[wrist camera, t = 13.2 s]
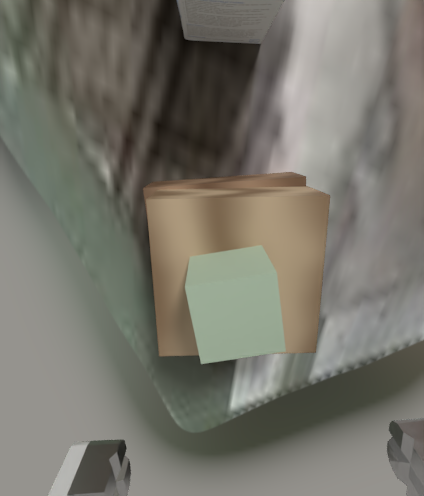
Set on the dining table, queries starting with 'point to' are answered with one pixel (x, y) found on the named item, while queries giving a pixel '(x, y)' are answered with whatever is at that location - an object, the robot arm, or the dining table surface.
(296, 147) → the dining table surface
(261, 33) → the light bulb box
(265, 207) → the oak top block
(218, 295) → the sage block
